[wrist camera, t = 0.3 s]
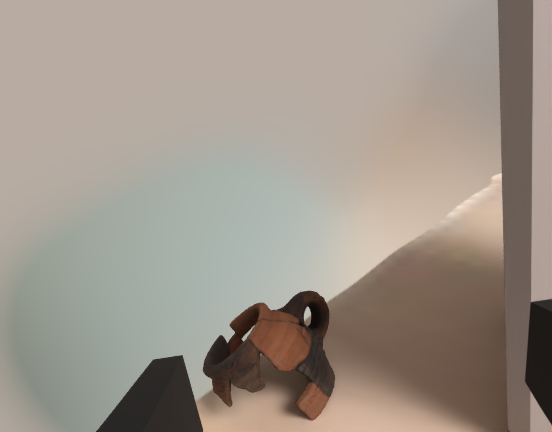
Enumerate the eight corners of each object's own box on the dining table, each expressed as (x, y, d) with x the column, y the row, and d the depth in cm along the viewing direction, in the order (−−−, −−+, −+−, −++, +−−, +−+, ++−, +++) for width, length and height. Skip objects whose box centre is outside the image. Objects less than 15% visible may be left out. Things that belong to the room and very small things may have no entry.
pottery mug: (301, 462, 30) (219, 387, 29) (246, 435, 39) (180, 376, 37) (378, 327, 36) (313, 259, 35) (316, 329, 44) (261, 273, 43)
